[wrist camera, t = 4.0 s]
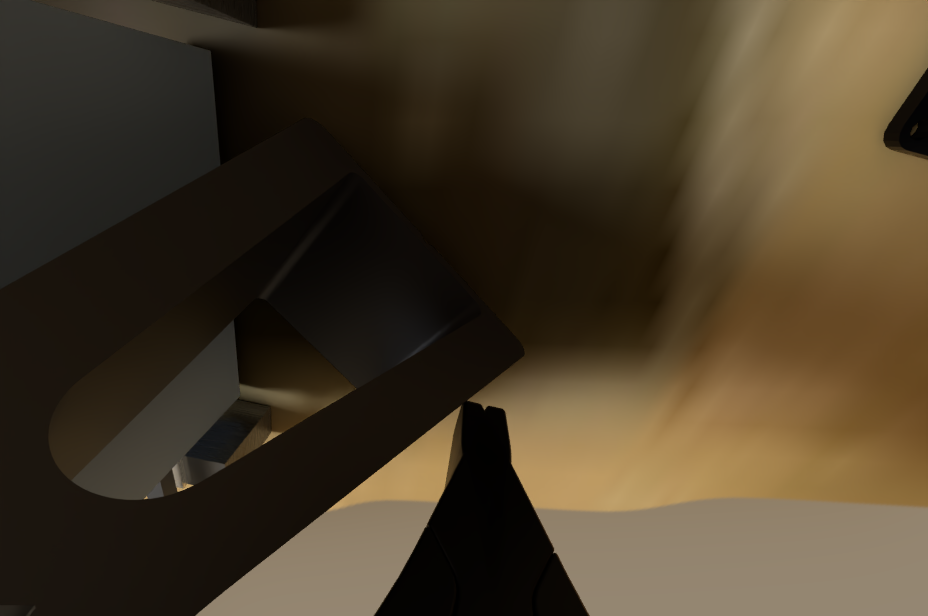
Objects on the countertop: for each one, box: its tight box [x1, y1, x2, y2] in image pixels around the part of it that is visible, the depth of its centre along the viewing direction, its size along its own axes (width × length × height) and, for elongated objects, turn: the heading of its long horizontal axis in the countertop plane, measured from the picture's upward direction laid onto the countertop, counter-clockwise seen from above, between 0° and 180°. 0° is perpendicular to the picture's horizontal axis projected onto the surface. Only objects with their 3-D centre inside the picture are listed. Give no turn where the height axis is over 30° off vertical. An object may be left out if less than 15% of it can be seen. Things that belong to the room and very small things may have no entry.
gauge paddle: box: [0, 0, 240, 500], centre depth 10 cm, size 2×18×8 cm, turn 167°
